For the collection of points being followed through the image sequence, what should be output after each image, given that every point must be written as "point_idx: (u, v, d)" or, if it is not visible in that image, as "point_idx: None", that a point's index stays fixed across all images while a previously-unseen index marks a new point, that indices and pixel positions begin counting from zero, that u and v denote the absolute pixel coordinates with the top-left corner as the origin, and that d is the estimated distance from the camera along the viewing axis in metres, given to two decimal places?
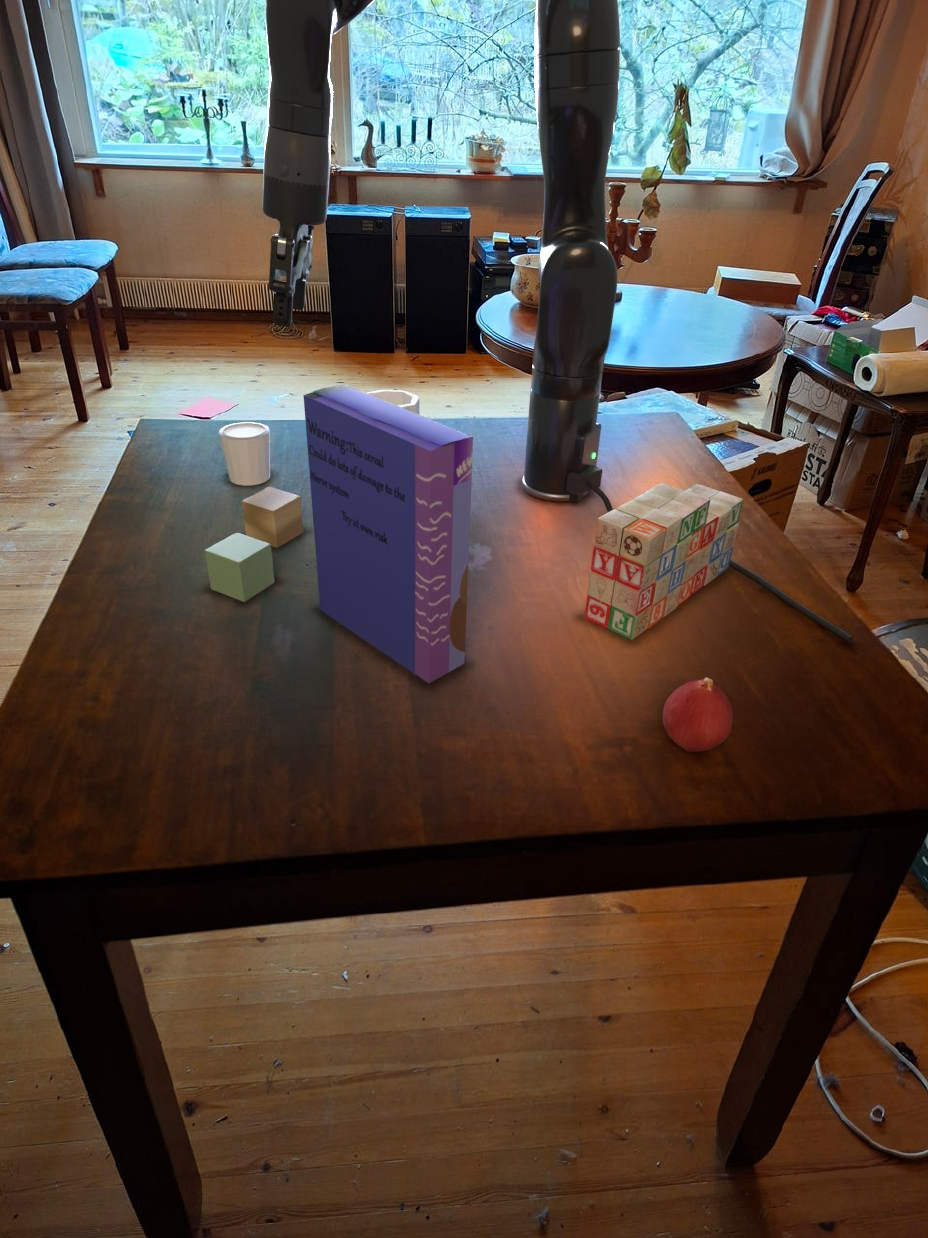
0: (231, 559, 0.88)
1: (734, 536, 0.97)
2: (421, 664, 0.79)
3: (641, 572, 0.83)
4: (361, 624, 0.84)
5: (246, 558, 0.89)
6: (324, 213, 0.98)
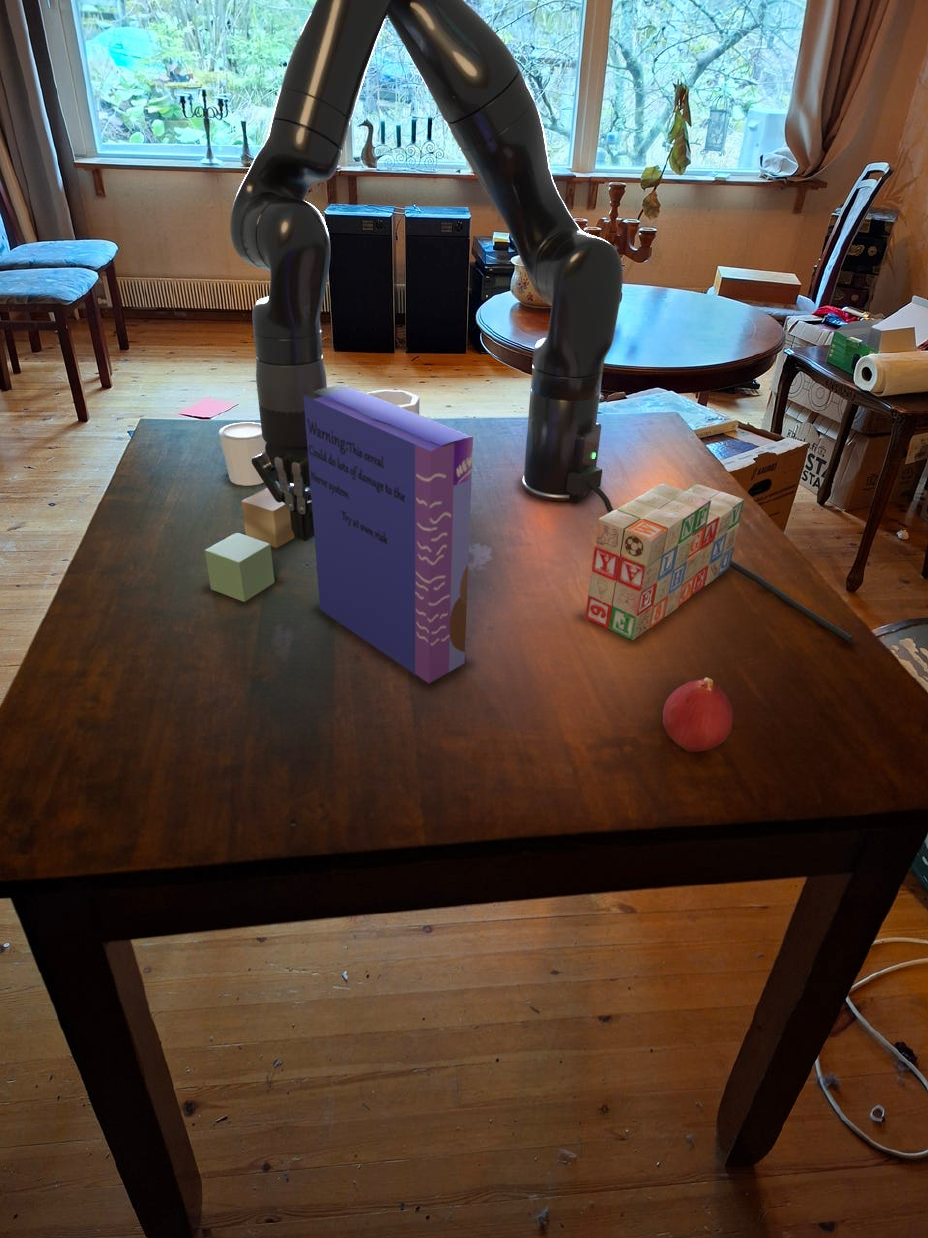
0: (231, 559, 0.88)
1: (735, 536, 0.97)
2: (421, 664, 0.79)
3: (642, 573, 0.83)
4: (361, 624, 0.84)
5: (246, 558, 0.89)
6: None
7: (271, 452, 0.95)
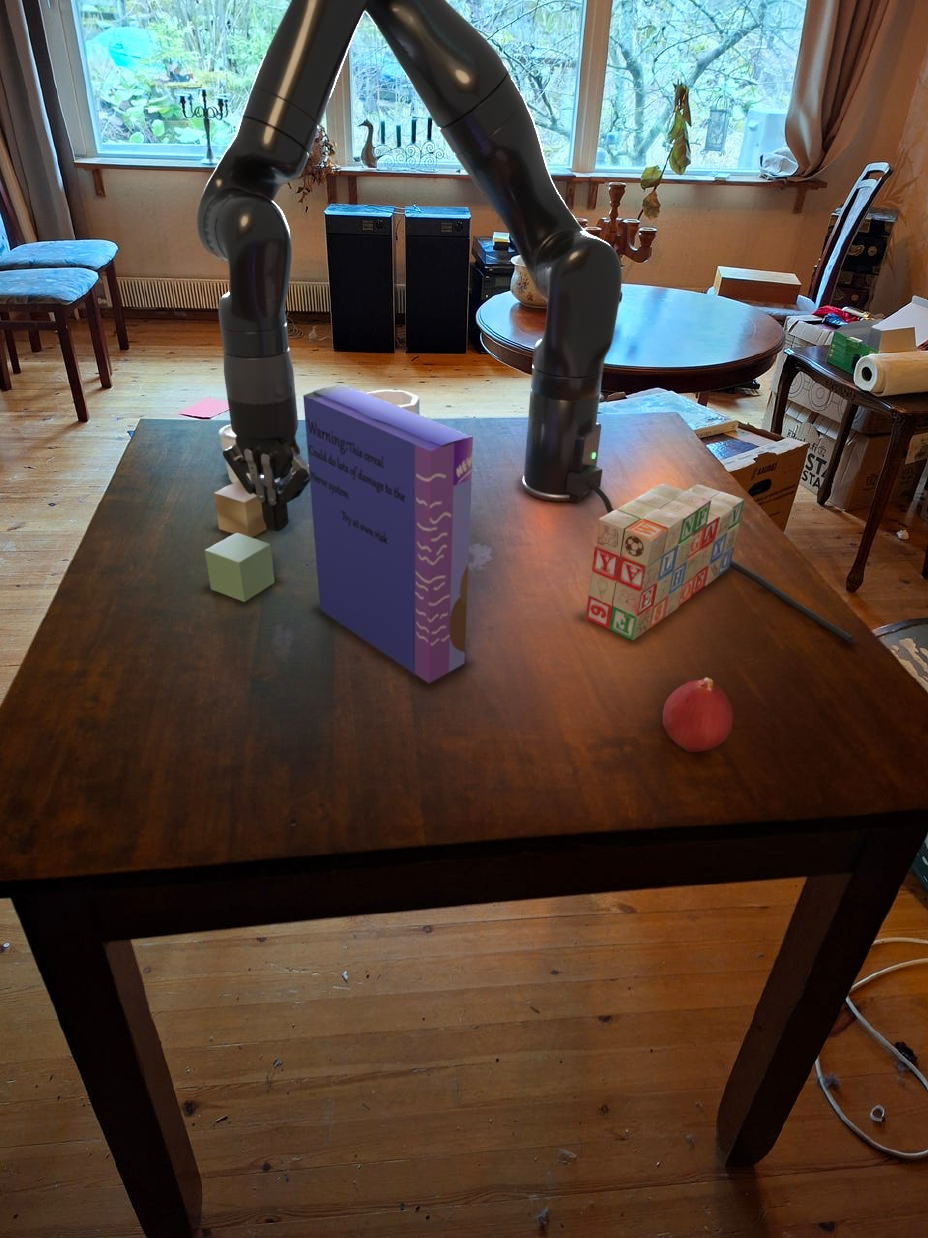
0: (231, 559, 0.88)
1: (735, 536, 0.97)
2: (421, 664, 0.79)
3: (642, 573, 0.82)
4: (361, 624, 0.84)
5: (246, 558, 0.89)
6: None
7: (241, 444, 0.97)
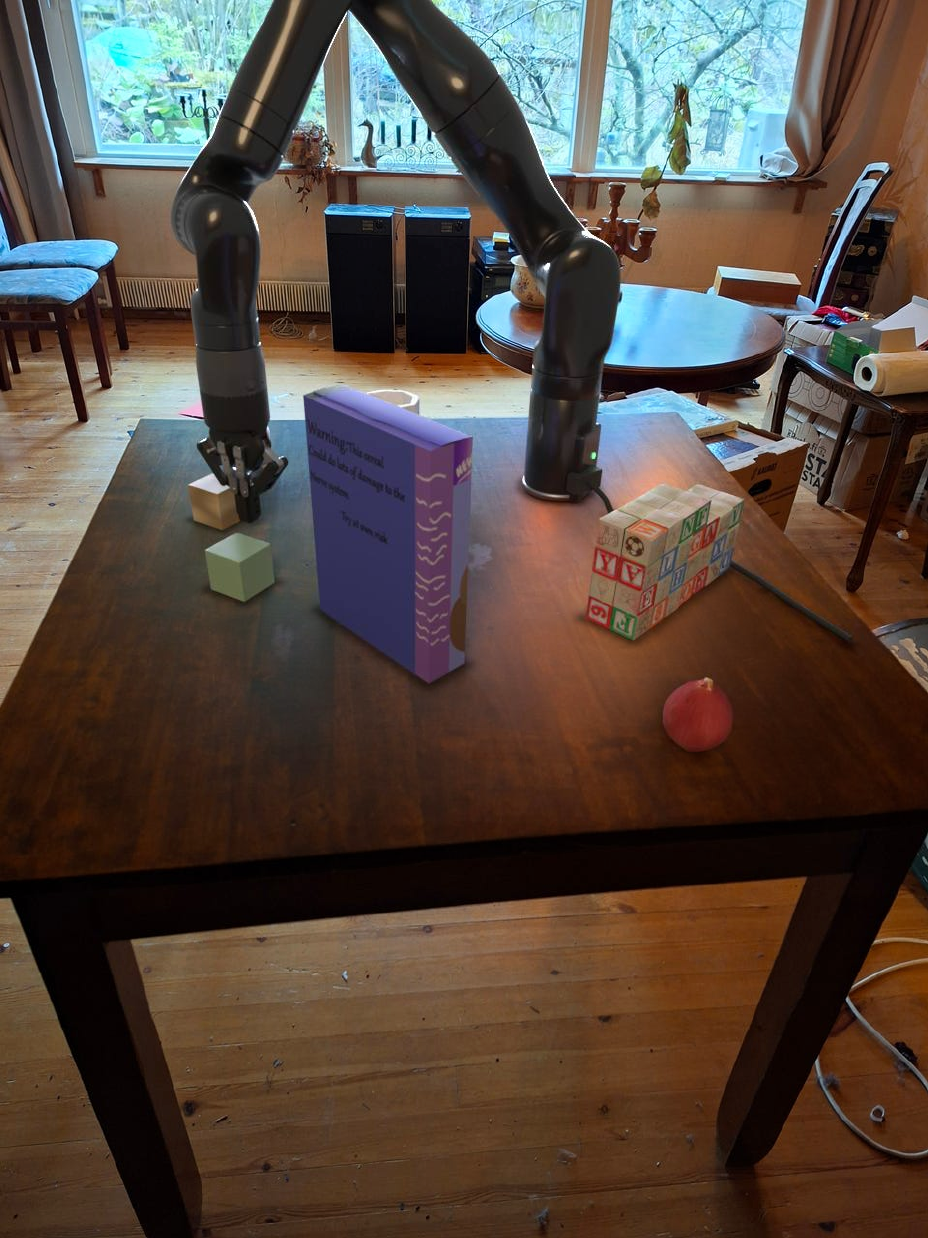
0: (231, 559, 0.88)
1: (735, 536, 0.97)
2: (421, 664, 0.79)
3: (642, 573, 0.82)
4: (361, 624, 0.84)
5: (246, 558, 0.89)
6: None
7: (214, 437, 0.99)
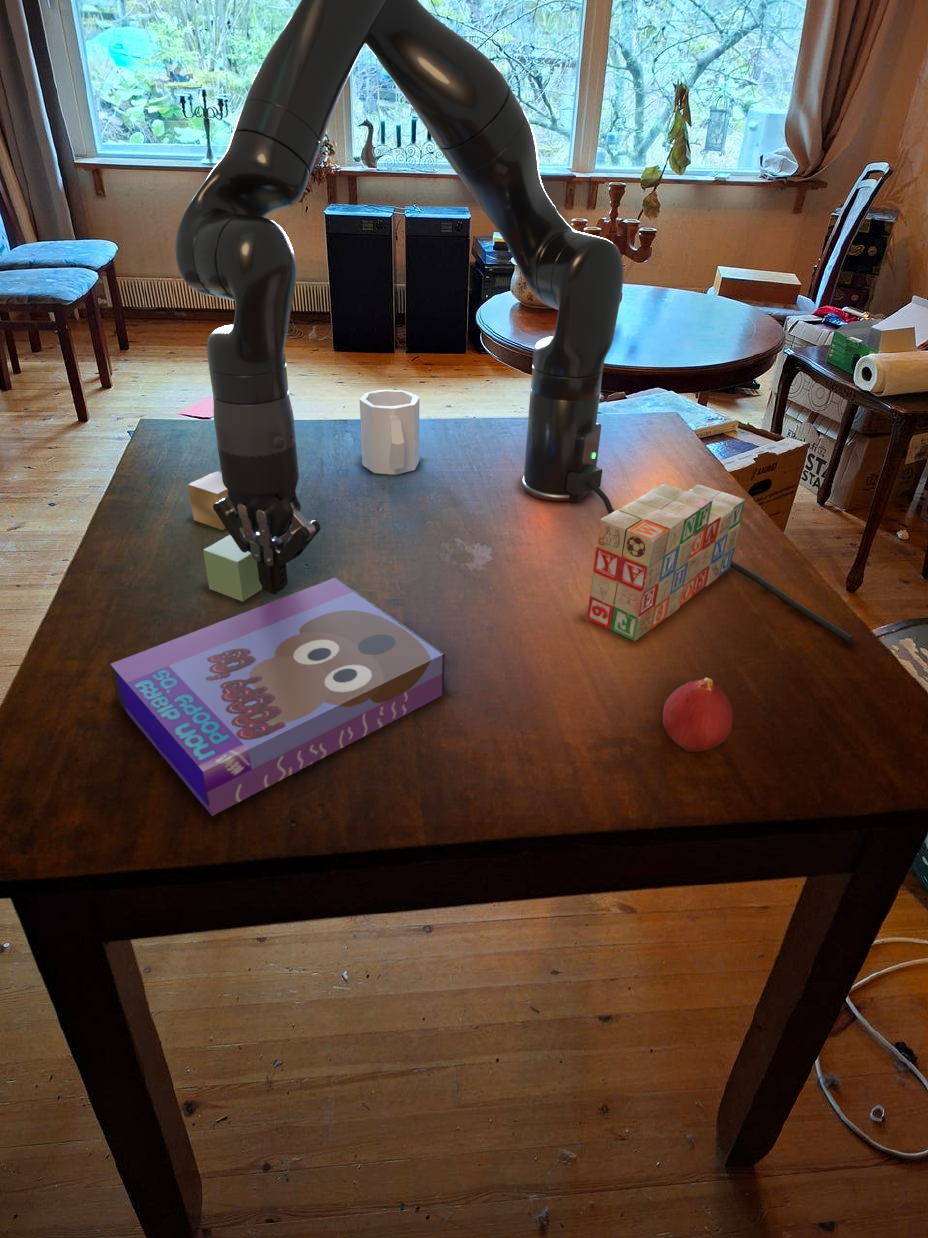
0: (229, 559, 0.89)
1: (736, 536, 0.97)
2: None
3: (644, 573, 0.82)
4: None
5: (244, 558, 0.89)
6: None
7: (234, 498, 0.85)
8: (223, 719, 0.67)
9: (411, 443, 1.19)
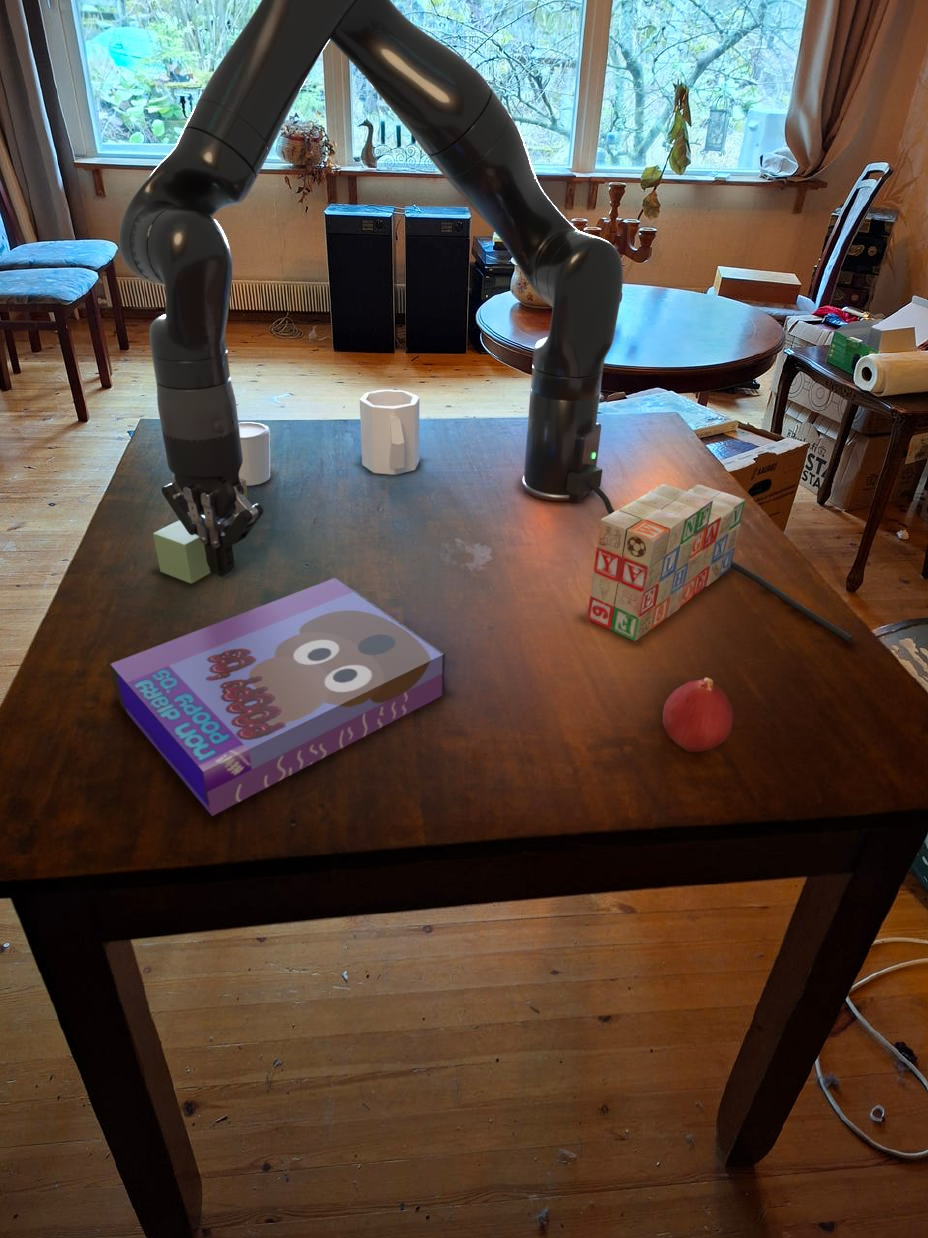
0: (177, 542, 0.91)
1: (736, 536, 0.97)
2: None
3: (644, 573, 0.82)
4: None
5: (192, 541, 0.92)
6: None
7: (181, 481, 0.88)
8: (223, 719, 0.67)
9: (411, 443, 1.19)
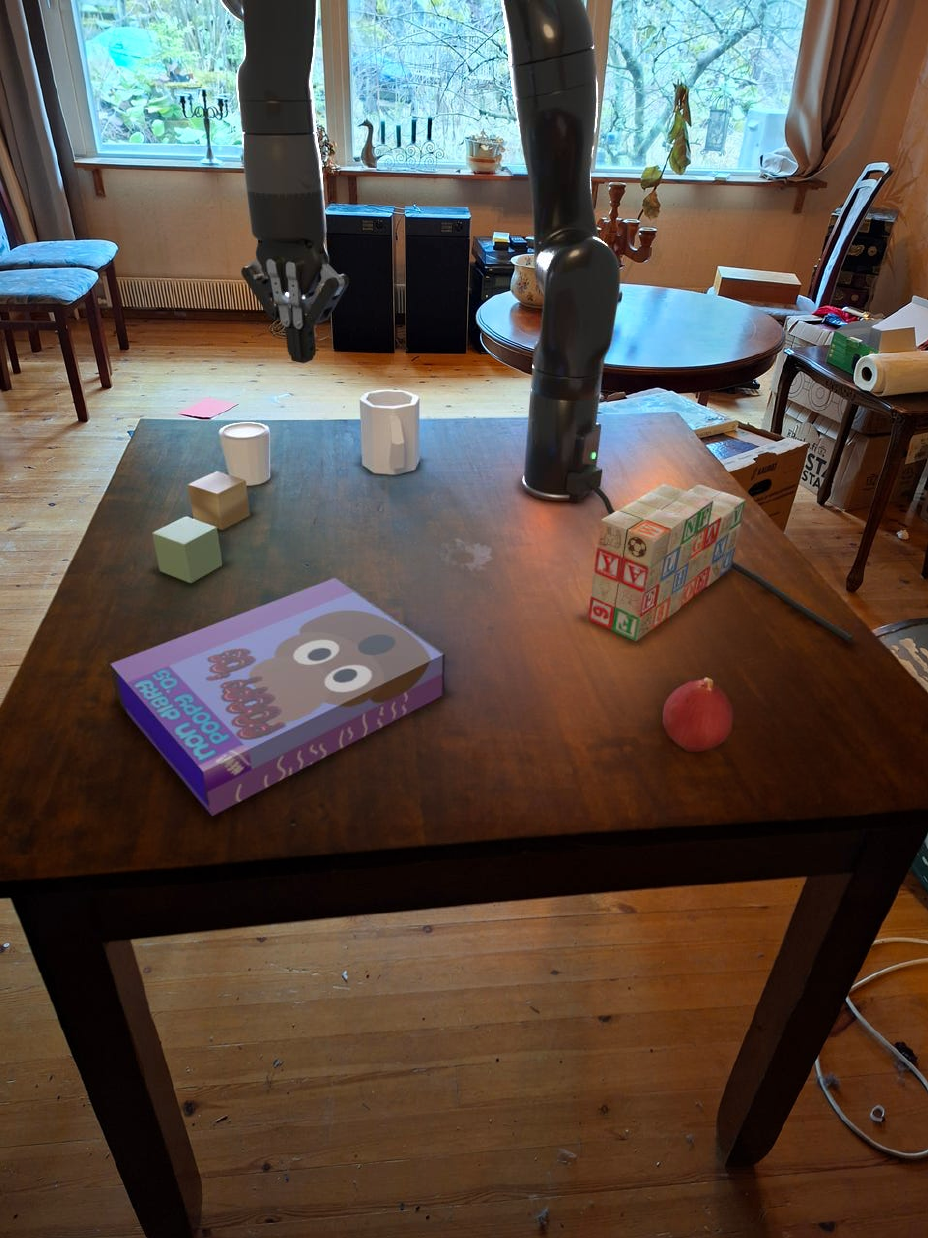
0: (176, 541, 0.91)
1: (736, 536, 0.97)
2: None
3: (645, 574, 0.82)
4: None
5: (191, 541, 0.92)
6: None
7: (263, 256, 0.86)
8: (223, 719, 0.67)
9: (411, 443, 1.19)
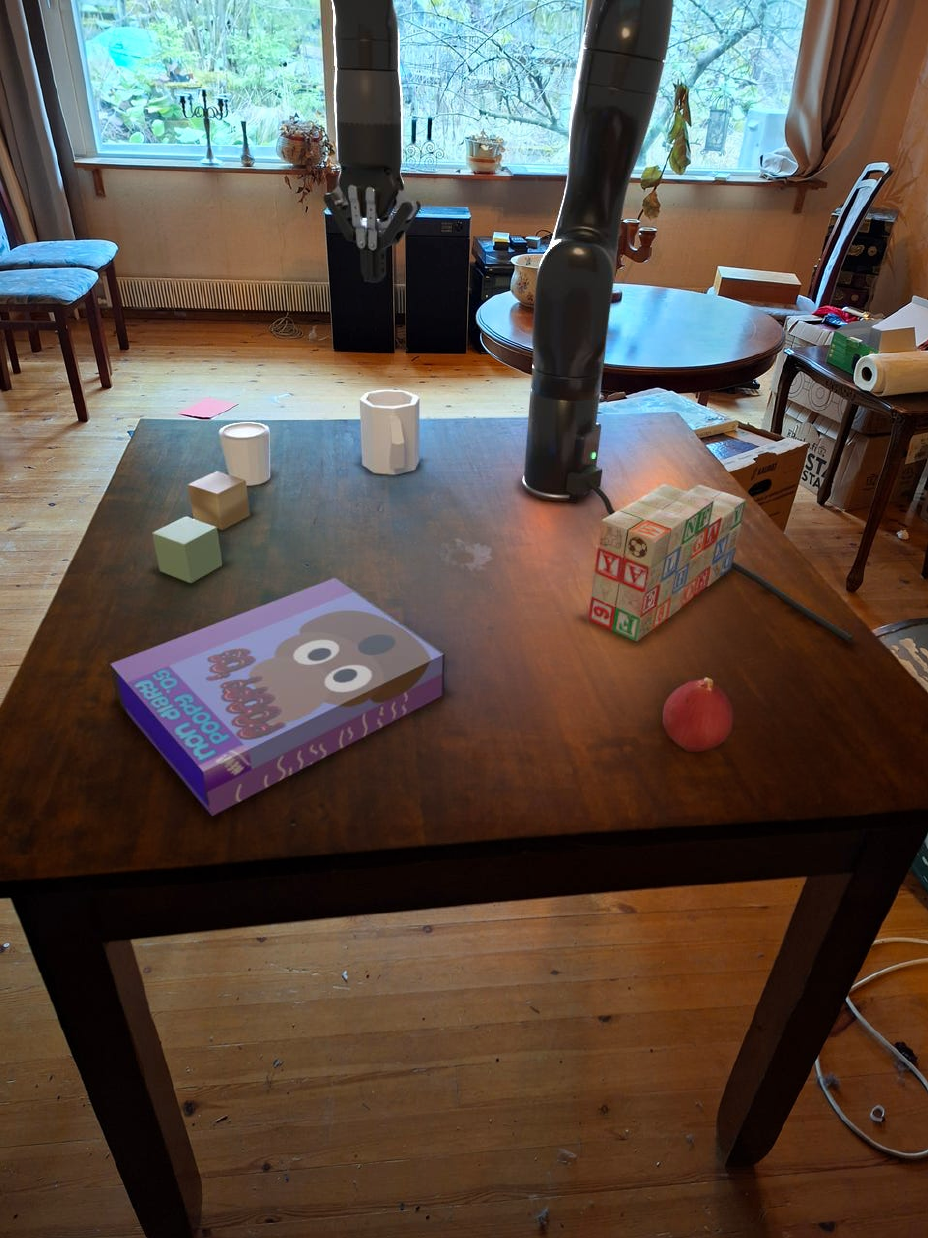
0: (176, 541, 0.91)
1: (737, 537, 0.97)
2: None
3: (645, 574, 0.82)
4: None
5: (191, 541, 0.92)
6: None
7: (345, 183, 0.98)
8: (223, 719, 0.67)
9: (411, 443, 1.19)
